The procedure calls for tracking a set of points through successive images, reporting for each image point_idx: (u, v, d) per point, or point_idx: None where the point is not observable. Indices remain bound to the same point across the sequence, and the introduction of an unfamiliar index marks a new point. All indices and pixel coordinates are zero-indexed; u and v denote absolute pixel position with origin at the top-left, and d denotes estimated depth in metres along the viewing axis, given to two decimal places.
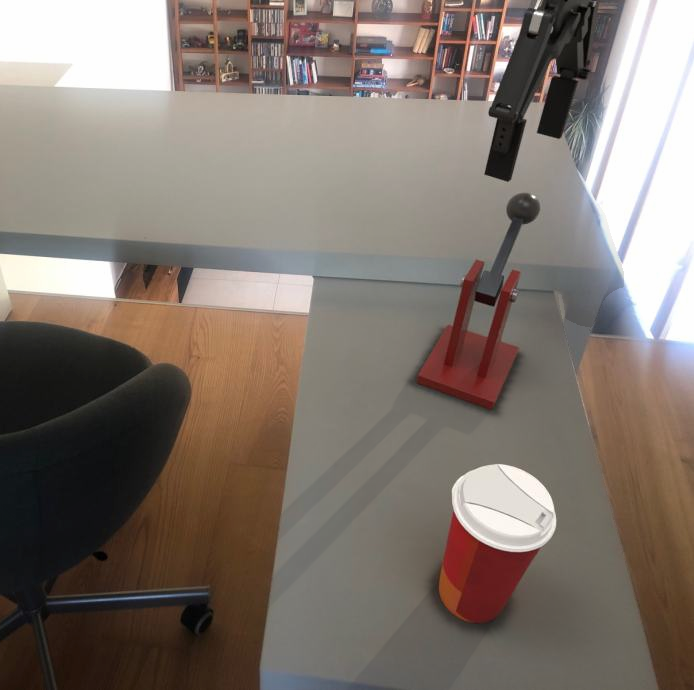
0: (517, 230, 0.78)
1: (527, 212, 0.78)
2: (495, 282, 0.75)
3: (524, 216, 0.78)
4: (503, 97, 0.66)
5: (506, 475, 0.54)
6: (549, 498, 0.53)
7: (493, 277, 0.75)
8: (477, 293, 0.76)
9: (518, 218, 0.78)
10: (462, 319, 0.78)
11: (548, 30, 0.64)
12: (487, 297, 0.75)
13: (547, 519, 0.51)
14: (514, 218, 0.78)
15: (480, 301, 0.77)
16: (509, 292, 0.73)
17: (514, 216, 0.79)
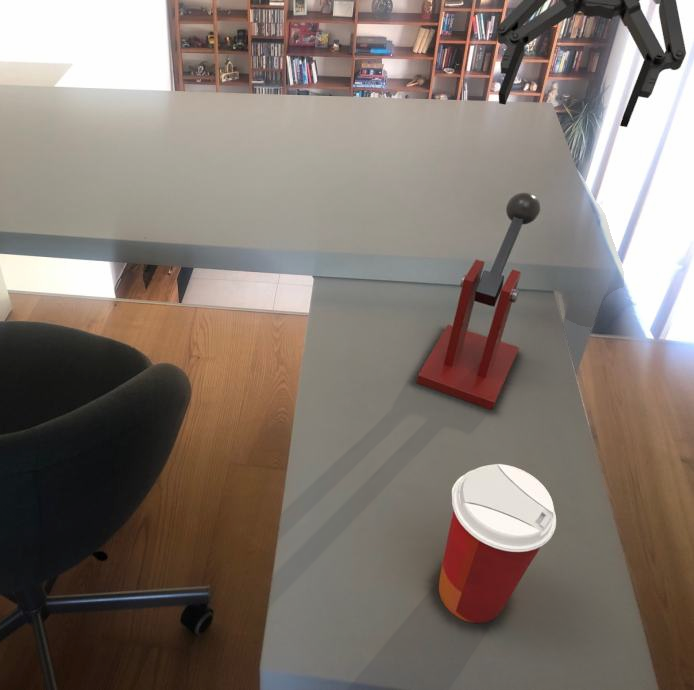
0: (517, 230, 0.78)
1: (527, 212, 0.78)
2: (495, 282, 0.75)
3: (524, 216, 0.78)
4: None
5: (506, 475, 0.54)
6: (549, 498, 0.53)
7: (493, 277, 0.75)
8: (477, 293, 0.76)
9: (518, 218, 0.78)
10: (462, 319, 0.78)
11: None
12: (487, 297, 0.75)
13: (547, 519, 0.51)
14: (514, 218, 0.78)
15: (480, 301, 0.77)
16: (509, 292, 0.73)
17: (514, 216, 0.79)
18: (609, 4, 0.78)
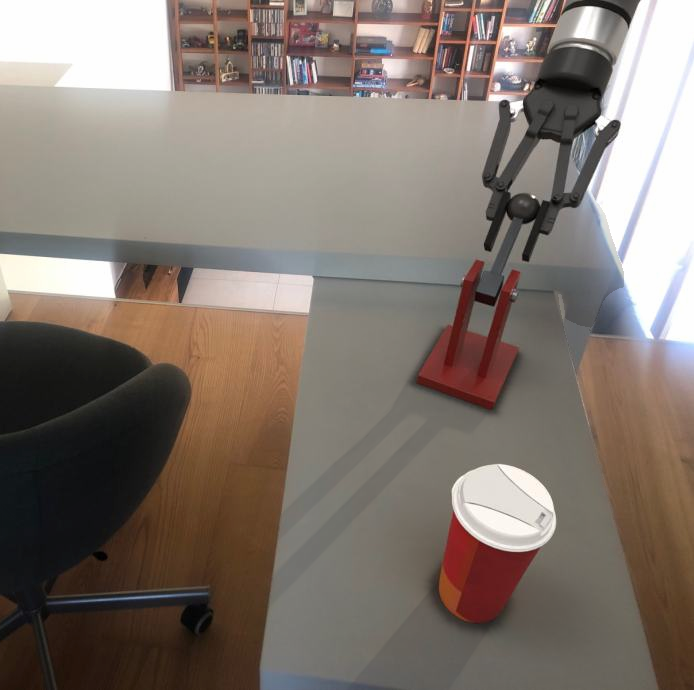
0: (517, 230, 0.78)
1: (527, 212, 0.78)
2: (495, 282, 0.75)
3: (524, 216, 0.78)
4: None
5: (506, 475, 0.54)
6: (549, 498, 0.53)
7: (493, 277, 0.75)
8: (477, 293, 0.76)
9: (518, 218, 0.78)
10: (462, 319, 0.78)
11: (503, 112, 0.80)
12: (487, 297, 0.75)
13: (547, 519, 0.51)
14: (514, 218, 0.78)
15: (480, 301, 0.77)
16: (509, 292, 0.73)
17: (514, 216, 0.79)
18: (560, 131, 0.78)
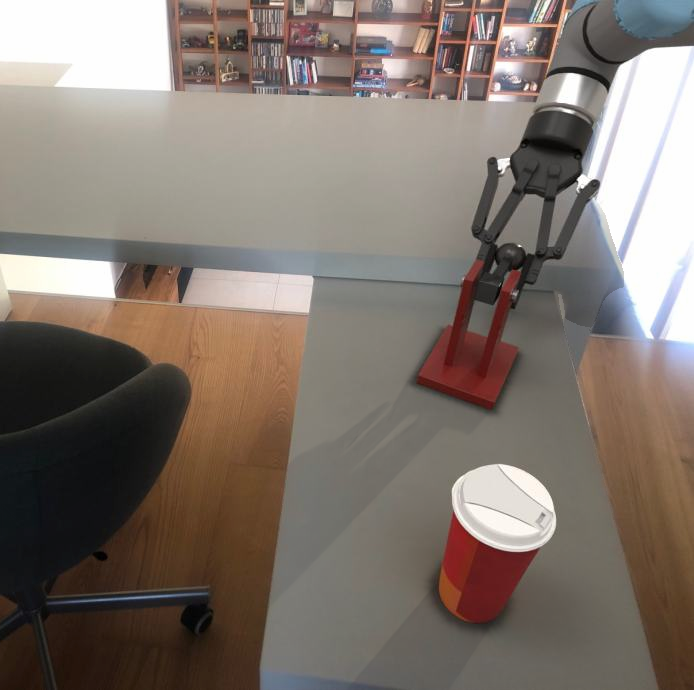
0: (509, 263, 0.82)
1: (517, 252, 0.83)
2: (497, 279, 0.76)
3: (514, 256, 0.83)
4: None
5: (506, 475, 0.54)
6: (549, 498, 0.53)
7: (494, 276, 0.76)
8: (480, 284, 0.75)
9: (508, 257, 0.83)
10: (462, 319, 0.78)
11: (491, 168, 0.86)
12: (490, 289, 0.75)
13: (547, 519, 0.51)
14: (505, 257, 0.83)
15: (480, 298, 0.76)
16: (509, 292, 0.73)
17: (504, 256, 0.83)
18: (544, 188, 0.83)
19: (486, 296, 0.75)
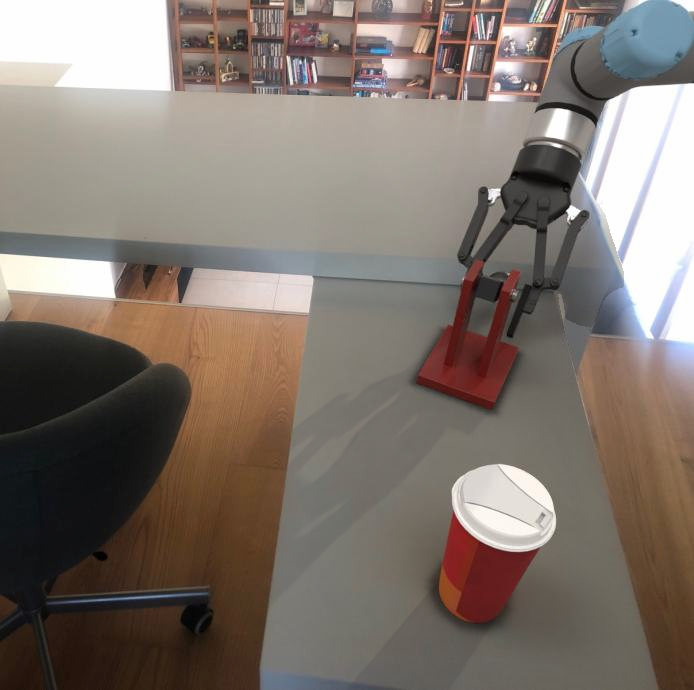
0: (502, 283, 0.83)
1: None
2: (497, 279, 0.76)
3: None
4: None
5: (506, 475, 0.54)
6: (549, 498, 0.53)
7: (494, 278, 0.77)
8: (482, 279, 0.75)
9: None
10: (462, 319, 0.78)
11: (482, 197, 0.88)
12: (491, 284, 0.75)
13: (547, 519, 0.51)
14: None
15: (481, 295, 0.76)
16: (509, 292, 0.73)
17: None
18: (534, 220, 0.85)
19: (487, 292, 0.75)
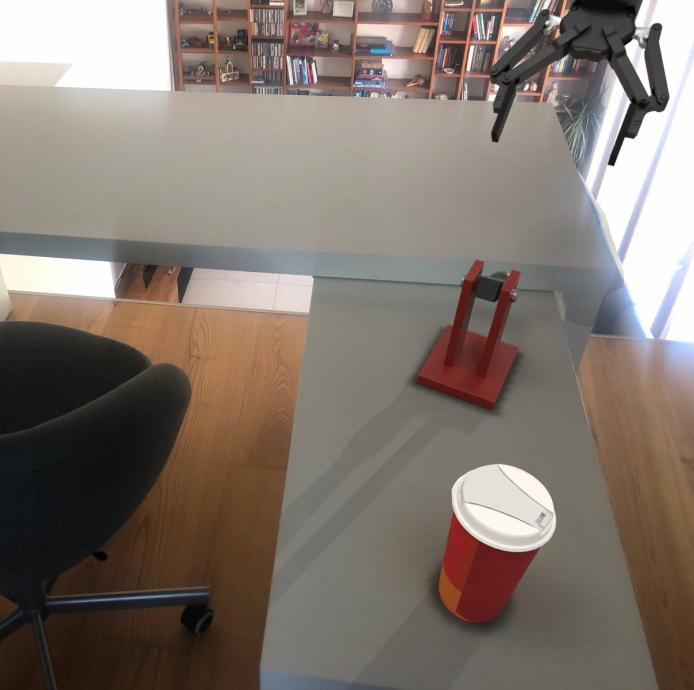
0: (502, 283, 0.83)
1: None
2: (497, 279, 0.76)
3: None
4: None
5: (506, 475, 0.54)
6: (549, 498, 0.53)
7: (494, 278, 0.77)
8: (482, 279, 0.75)
9: None
10: (462, 319, 0.78)
11: (540, 20, 0.85)
12: (491, 284, 0.75)
13: (547, 519, 0.51)
14: None
15: (481, 295, 0.76)
16: (509, 292, 0.73)
17: None
18: (596, 49, 0.82)
19: (487, 292, 0.75)
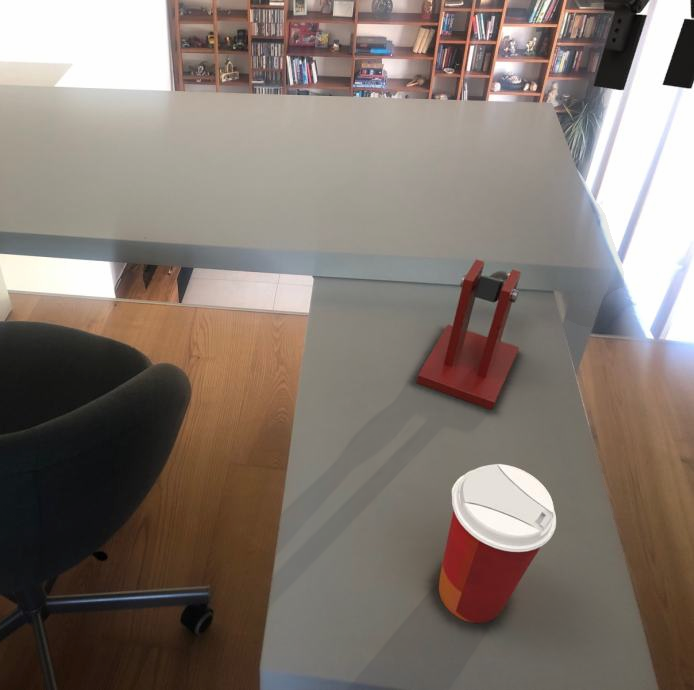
0: (502, 283, 0.83)
1: None
2: (497, 279, 0.76)
3: None
4: None
5: (506, 475, 0.54)
6: (549, 498, 0.53)
7: (494, 278, 0.77)
8: (482, 279, 0.75)
9: None
10: (462, 319, 0.78)
11: None
12: (491, 284, 0.75)
13: (547, 519, 0.51)
14: None
15: (481, 295, 0.76)
16: (509, 292, 0.73)
17: None
18: None
19: (487, 292, 0.75)
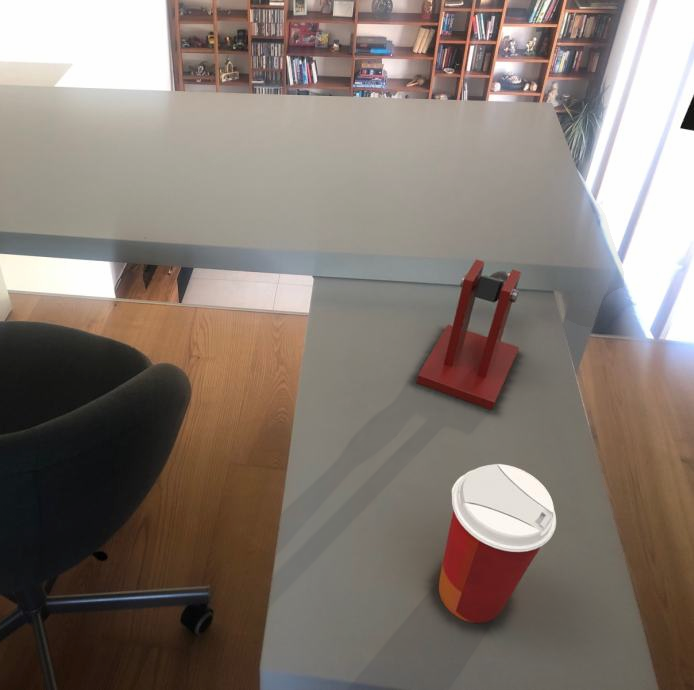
0: (502, 283, 0.83)
1: None
2: (497, 279, 0.76)
3: None
4: None
5: (506, 475, 0.54)
6: (549, 498, 0.53)
7: (494, 278, 0.77)
8: (482, 279, 0.75)
9: None
10: (462, 319, 0.78)
11: None
12: (491, 284, 0.75)
13: (547, 519, 0.51)
14: None
15: (481, 295, 0.76)
16: (509, 292, 0.73)
17: None
18: None
19: (487, 292, 0.75)
